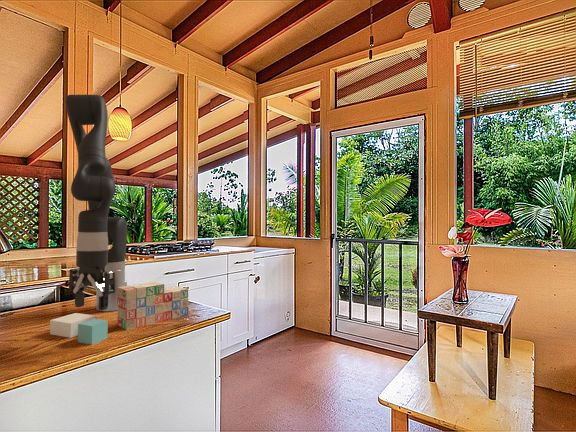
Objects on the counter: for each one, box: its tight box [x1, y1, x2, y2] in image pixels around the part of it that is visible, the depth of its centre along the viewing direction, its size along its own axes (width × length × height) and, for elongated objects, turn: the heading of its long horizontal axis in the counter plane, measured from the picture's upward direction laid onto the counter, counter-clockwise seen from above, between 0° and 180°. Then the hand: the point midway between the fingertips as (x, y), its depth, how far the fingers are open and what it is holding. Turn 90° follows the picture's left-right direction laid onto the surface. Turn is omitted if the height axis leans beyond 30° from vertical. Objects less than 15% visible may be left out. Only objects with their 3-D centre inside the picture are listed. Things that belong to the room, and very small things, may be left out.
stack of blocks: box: [117, 281, 189, 331], centre depth 114 cm, size 21×6×12 cm, turn 139°
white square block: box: [49, 312, 96, 339], centre depth 102 cm, size 8×8×4 cm
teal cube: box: [77, 318, 109, 345], centre depth 95 cm, size 5×5×5 cm
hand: (91, 308), depth 95 cm, fingers open, 8 cm apart
